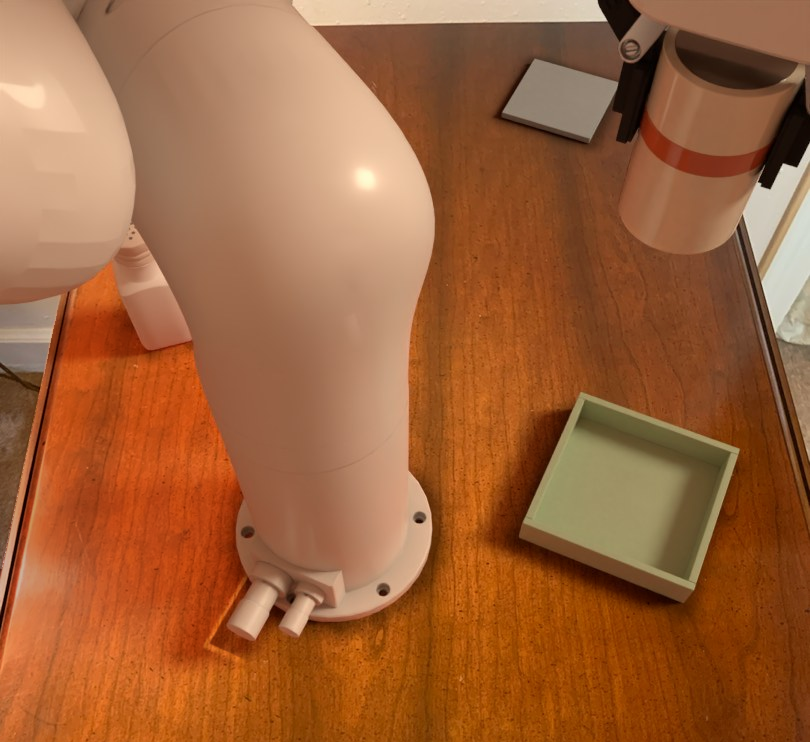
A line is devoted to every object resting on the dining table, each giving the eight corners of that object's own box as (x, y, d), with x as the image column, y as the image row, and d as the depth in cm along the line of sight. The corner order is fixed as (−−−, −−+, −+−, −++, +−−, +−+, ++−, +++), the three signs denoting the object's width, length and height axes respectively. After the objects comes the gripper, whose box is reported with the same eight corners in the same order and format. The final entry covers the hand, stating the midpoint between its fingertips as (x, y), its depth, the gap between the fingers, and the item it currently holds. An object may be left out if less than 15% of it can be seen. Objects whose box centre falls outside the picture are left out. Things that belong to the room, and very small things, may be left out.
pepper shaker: (199, 342, 60) (165, 244, 52) (145, 355, 60) (101, 258, 51) (188, 302, 62) (154, 200, 53) (136, 314, 61) (92, 214, 53)
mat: (588, 143, 69) (589, 138, 69) (501, 117, 71) (501, 112, 70) (618, 87, 73) (619, 82, 72) (533, 63, 74) (534, 58, 74)
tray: (681, 605, 51) (693, 590, 49) (517, 539, 53) (522, 522, 51) (727, 467, 55) (740, 448, 53) (573, 411, 57) (580, 391, 55)
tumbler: (717, 271, 42) (790, 115, 34) (599, 231, 44) (641, 71, 35) (753, 190, 45) (829, 26, 37) (640, 154, 46) (689, -12, 38)
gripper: (570, -370, 25) (510, 143, 41) (1193, -255, 21) (857, 256, 37) (652, -456, 28) (565, 55, 44) (1214, -368, 24) (893, 152, 40)
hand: (701, 144), depth 40 cm, fingers closed on tumbler, 6 cm apart
